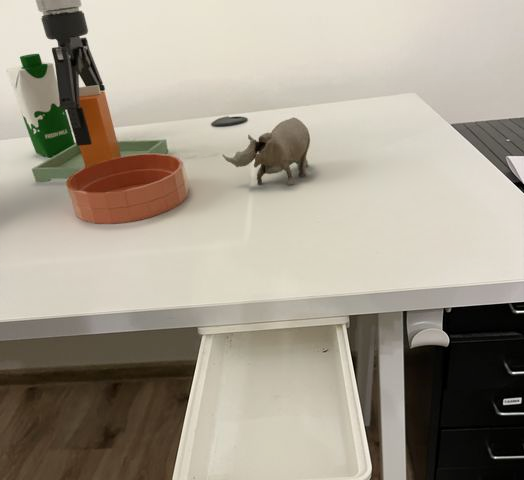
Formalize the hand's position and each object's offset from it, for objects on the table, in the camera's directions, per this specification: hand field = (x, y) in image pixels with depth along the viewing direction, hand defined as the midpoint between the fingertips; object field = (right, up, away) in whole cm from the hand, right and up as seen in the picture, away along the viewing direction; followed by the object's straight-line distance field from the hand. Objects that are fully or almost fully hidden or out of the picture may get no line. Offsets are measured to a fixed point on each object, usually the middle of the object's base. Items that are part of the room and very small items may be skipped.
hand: (94, 135), depth 110 cm
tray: (+1, -5, +4) cm, 6 cm away
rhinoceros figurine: (+37, -14, -14) cm, 42 cm away
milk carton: (-14, +3, +18) cm, 23 cm away
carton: (+1, -5, +3) cm, 6 cm away
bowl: (+12, -18, -16) cm, 27 cm away
